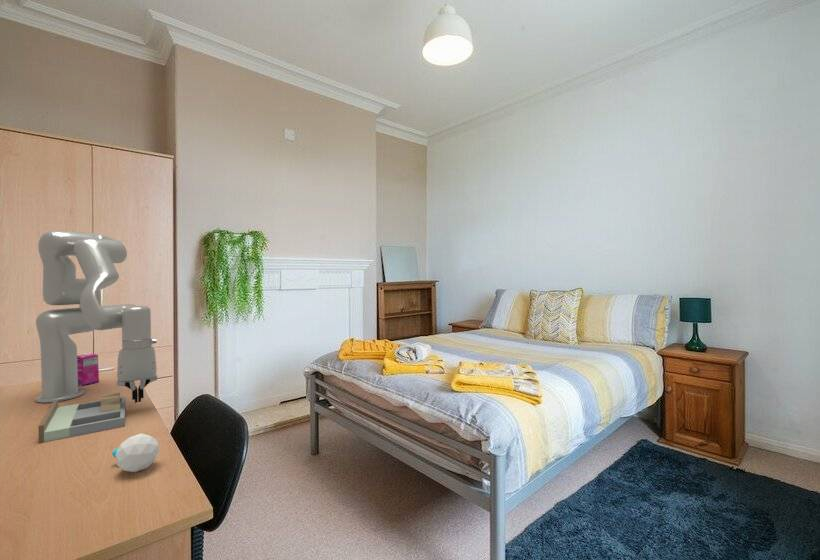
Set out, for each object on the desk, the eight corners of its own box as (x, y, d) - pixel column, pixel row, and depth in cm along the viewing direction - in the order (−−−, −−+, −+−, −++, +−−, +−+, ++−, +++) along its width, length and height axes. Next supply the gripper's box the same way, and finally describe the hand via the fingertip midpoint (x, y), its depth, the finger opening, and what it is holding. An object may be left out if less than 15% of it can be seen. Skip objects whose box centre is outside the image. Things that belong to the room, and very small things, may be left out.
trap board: (53, 415, 118) (53, 401, 117) (125, 403, 128) (125, 390, 128) (38, 442, 99) (38, 426, 99) (124, 426, 110) (124, 410, 110)
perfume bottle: (126, 468, 79) (86, 467, 83) (158, 475, 86) (120, 473, 89) (144, 430, 84) (105, 430, 87) (173, 438, 90) (136, 438, 94)
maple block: (102, 408, 117) (101, 395, 117) (120, 404, 120) (120, 392, 120) (101, 412, 114) (100, 399, 114) (119, 409, 116) (119, 396, 116)
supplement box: (73, 384, 149) (73, 356, 149) (91, 380, 155) (90, 353, 155) (82, 386, 147) (81, 357, 147) (99, 382, 153) (99, 354, 152)
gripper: (163, 340, 128) (164, 393, 128) (107, 345, 119) (108, 402, 119) (165, 343, 122) (166, 399, 122) (106, 349, 113) (107, 409, 113)
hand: (137, 401), depth 121 cm, fingers closed
